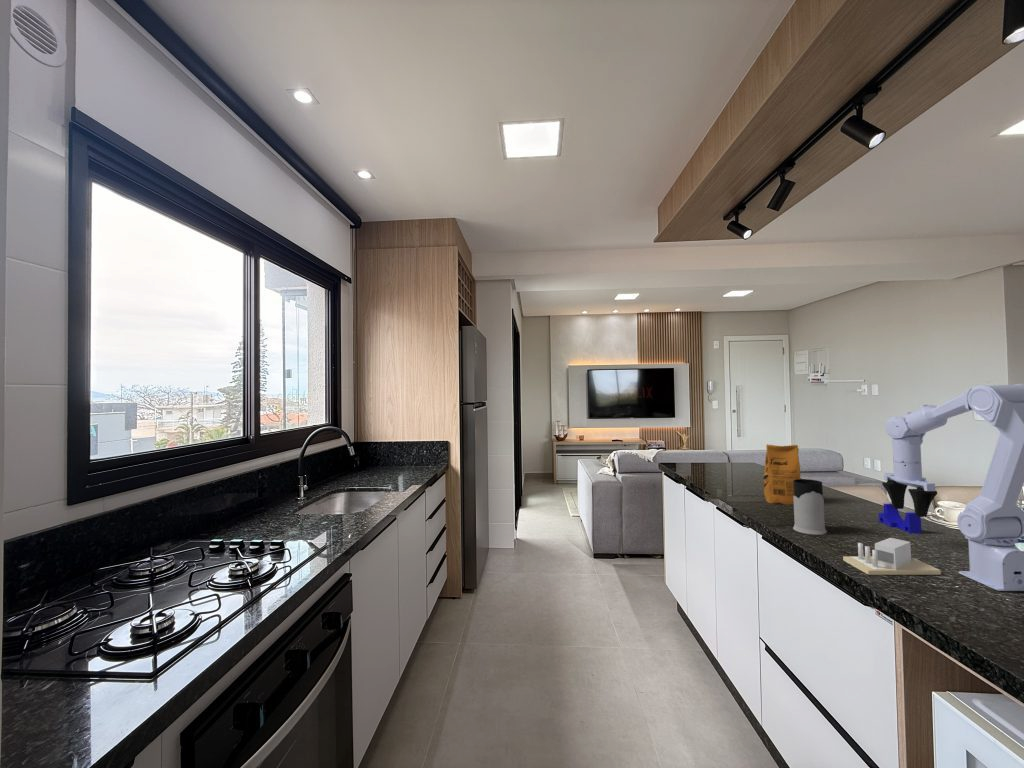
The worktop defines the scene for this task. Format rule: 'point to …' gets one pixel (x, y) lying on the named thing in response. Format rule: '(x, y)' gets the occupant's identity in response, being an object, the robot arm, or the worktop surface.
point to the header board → (872, 568)
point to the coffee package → (781, 473)
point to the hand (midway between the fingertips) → (909, 512)
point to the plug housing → (893, 553)
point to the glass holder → (809, 507)
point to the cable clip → (900, 520)
